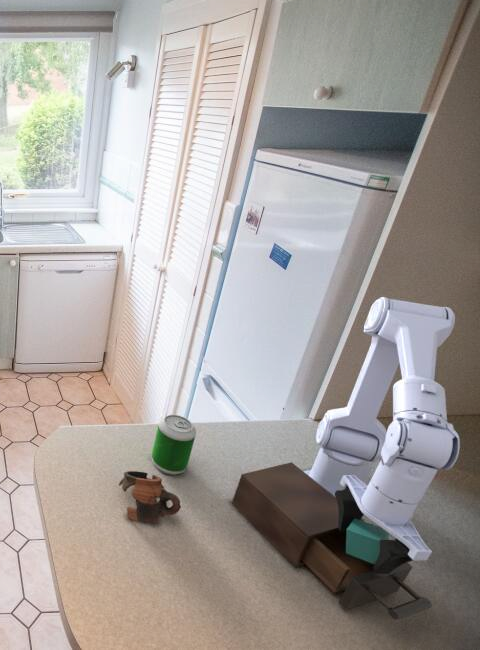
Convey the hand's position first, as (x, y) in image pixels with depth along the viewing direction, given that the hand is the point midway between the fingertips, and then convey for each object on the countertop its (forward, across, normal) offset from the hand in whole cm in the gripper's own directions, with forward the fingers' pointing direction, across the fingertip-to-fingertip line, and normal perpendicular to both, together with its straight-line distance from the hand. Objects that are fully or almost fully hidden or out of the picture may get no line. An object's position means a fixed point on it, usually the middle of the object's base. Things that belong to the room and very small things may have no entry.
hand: (362, 549), depth 75 cm
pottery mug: (+8, +15, +29) cm, 34 cm away
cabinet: (+8, +11, +3) cm, 14 cm away
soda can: (+8, +27, +20) cm, 35 cm away
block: (0, -1, 0) cm, 1 cm away
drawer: (+7, 0, 0) cm, 7 cm away
